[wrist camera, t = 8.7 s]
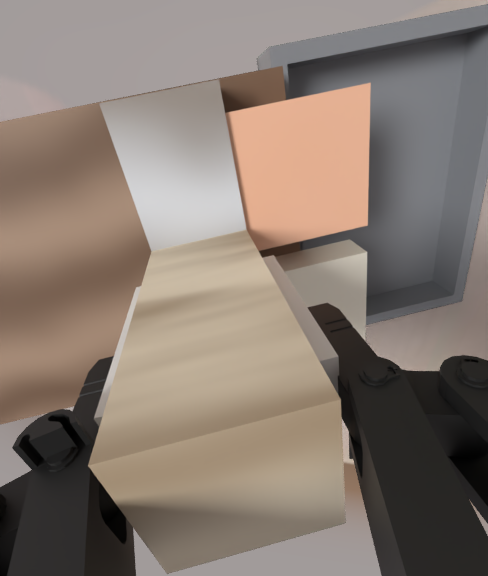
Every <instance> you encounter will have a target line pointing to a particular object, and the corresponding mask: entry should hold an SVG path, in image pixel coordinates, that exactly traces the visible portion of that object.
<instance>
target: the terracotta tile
mask: <svg viewBox="0 0 488 576" xmlns="http://www.w3.org/2000/svg"><path fill="white" fill-rule="evenodd" d="M370 90H371V83H367V84H362V85H357V86H352V87H347V88H343V89H338V90H333V91H328V92H323V93H319V94H314V95H309V96H304V97H299V98H294V99H290V100H285V101H280V102H275V103H270V104H266V105H261V106H256V107H251V108H246V109H242V110H237V111H232V112H227V113H225V115H226V121H227V126H228V132H229V137H230V143H231V148H232V153H233V159H234V164H235V170H236V175H237V181H238V186H239V191H240V197H241V202H242V208H243V213H244V218H245V224H246V229H247V231H248V233H249V235H250V237H251V239H252V240H253V242H254V244H255V246H256V248H257V249H258V251H261V250H265V249H269V248H274V247H278V246H282V245H286V244H291V243H295V242H299V241H303V240H308V239H312V238H316V237H321V236H325V235H329V234H333V233H338V232H342V231H346V230H351V229H355V228H359V227H363V226H368V188H369V139H370Z"/></svg>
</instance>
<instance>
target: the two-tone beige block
mask: <svg viewBox="0 0 488 576" xmlns="http://www.w3.org/2000/svg"><path fill="white" fill-rule="evenodd" d="M99 105H100V107H101V110H102V113H103V116H104V119H105V121H106V124H107V127H108V130H109V133H110V136H111V138H112V141H113V144H114V147H115V150H116V153H117V155H118V158H119V161H120V164H121V167H122V169H123V172H124V175H125V178H126V181H127V184H128V186H129V189H130V192H131V195H132V198H133V201H134V203H135V206H136V209H137V212H138V215H139V217H140V220H141V223H142V226H143V229H144V232H145V234H146V237H147V240H148V243H149V246H150V249H151V255H150V258H149V261H148V265H147V268H146V272H145V275H144V278H143V282H142V285H141V288H140V292H139V295H138V299H137V302H136V305H135V309H134V312H133V316H132V319H131V322H130V326H129V329H128V332H127V336H126V339H125V343H124V346H123V349H122V353H121V356H120V359H119V363H118V366H117V370H116V373H115V376H114V380H113V383H112V386H111V390H110V393H109V397H108V400H107V403H106V407H105V410H104V413H103V417H102V420H101V424H100V427H99V430H98V434H97V437H96V440H95V444H94V447H93V451H92V454H91V457H90V461H89V464H88V466H89V468H90V469H91V470H92V472H93V473H94V475H95V476H96V477H97V479H98V480H99V481H100V483H101V484H102V485H103V487H104V488H105V490H106V491H107V492H108V494H109V495H110V496H111V498H112V499H113V501H114V502H115V503H116V505H117V506H118V507H119V509H120V510H121V511H122V513H123V514H124V516H125V517H126V518H127V520H128V521H129V522H130V524H131V525H132V527H133V528H134V529H135V531H136V532H137V533H138V535H139V536H140V537H141V539H142V540H143V542H144V543H145V544H146V546H147V547H148V548H149V550H150V551H151V552H152V554H153V555H154V557H155V558H156V559H157V561H158V562H159V563H160V565H161V566H162V568H163V569H164V570H165V572H166V573H167V574H169V573H172V572H176V571H179V570H183V569H186V568H190V567H193V566H197V565H200V564H204V563H207V562H211V561H214V560H218V559H222V558H225V557H229V556H232V555H236V554H239V553H243V552H246V551H250V550H253V549H257V548H260V547H263V546H267V545H271V544H274V543H278V542H281V541H285V540H288V539H292V538H295V537H299V536H303V535H306V534H310V533H313V532H317V531H320V530H324V529H327V528H331V527H334V526H338V525H341V524H344V523H346V518H345V493H344V469H343V444H342V419H341V399H340V397H339V395H338V394H337V392H336V390H335V388H334V386H333V385H332V383H331V381H330V379H329V377H328V376H327V374H326V372H325V370H324V368H323V367H322V365H321V363H320V361H319V359H318V358H317V356H316V354H315V352H314V350H313V349H312V347H311V345H310V343H309V341H308V340H307V338H306V336H305V334H304V332H303V330H302V329H301V327H300V325H299V323H298V321H297V320H296V318H295V316H294V314H293V312H292V311H291V309H290V307H289V305H288V303H287V302H286V300H285V298H284V296H283V294H282V293H281V291H280V289H279V287H278V285H277V284H276V282H275V280H274V278H273V276H272V275H271V273H270V271H269V269H268V267H267V266H266V264H265V262H264V260H263V258H262V257H261V255H260V253H259V251H258V249H257V248H256V246H255V244H254V242H253V240H252V239H251V237H250V235H249V233H248V231H247V229H246V224H245V218H244V213H243V208H242V202H241V197H240V191H239V186H238V181H237V175H236V170H235V164H234V159H233V153H232V148H231V143H230V137H229V132H228V126H227V121H226V115H225V110H224V105H223V99H222V94H221V88H220V83H219V79H218V80H213V81H208V82H203V83H198V84H193V85H188V86H183V87H178V88H173V89H168V90H163V91H158V92H154V93H149V94H144V95H139V96H134V97H129V98H124V99H119V100H114V101H109V102H104V103H99Z"/></svg>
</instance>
